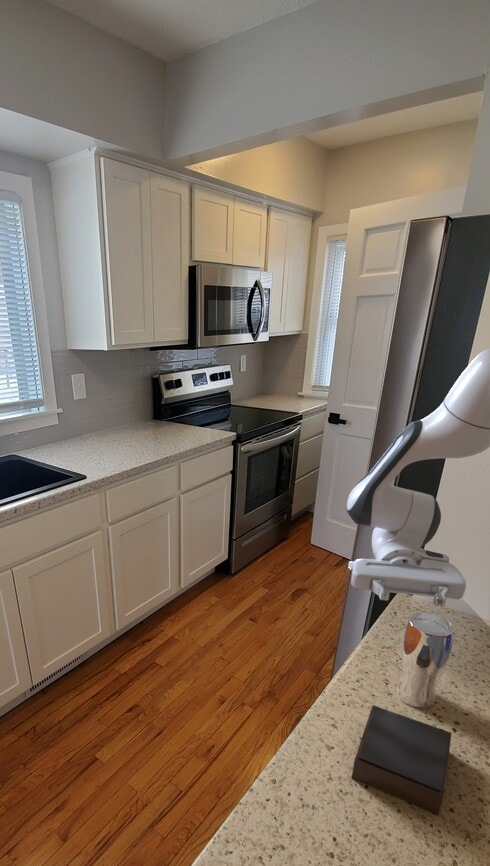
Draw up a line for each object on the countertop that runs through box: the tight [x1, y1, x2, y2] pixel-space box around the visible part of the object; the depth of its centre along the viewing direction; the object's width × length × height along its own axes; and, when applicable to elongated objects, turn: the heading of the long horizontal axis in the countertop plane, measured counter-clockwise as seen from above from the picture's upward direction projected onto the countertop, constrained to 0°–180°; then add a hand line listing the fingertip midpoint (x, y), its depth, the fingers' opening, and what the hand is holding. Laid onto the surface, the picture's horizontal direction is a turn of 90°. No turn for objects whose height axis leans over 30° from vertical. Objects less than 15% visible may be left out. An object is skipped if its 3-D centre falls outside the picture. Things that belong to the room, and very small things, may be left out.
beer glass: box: [395, 611, 456, 709], centre depth 80 cm, size 7×7×15 cm
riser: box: [351, 705, 452, 816], centre depth 70 cm, size 12×11×4 cm
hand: (412, 599), depth 89 cm, fingers open, 8 cm apart
